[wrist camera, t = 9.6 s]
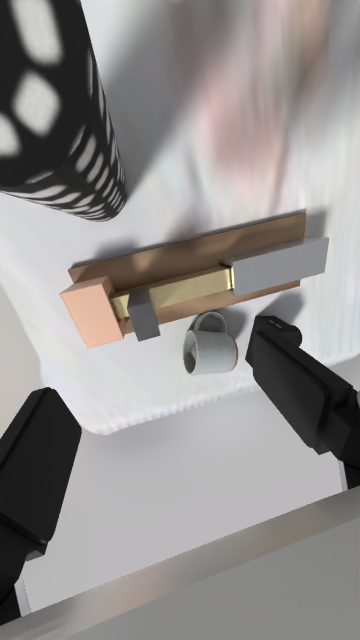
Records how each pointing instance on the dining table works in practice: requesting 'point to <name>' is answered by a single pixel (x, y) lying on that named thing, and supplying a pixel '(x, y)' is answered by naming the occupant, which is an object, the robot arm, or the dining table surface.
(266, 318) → the digital camera
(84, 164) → the spotted tube
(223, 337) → the ceramic mug
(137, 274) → the walnut board
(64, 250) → the dining table surface
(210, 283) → the hammer
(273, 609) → the robot arm
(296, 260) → the metal sleeve
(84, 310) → the terracotta socket
